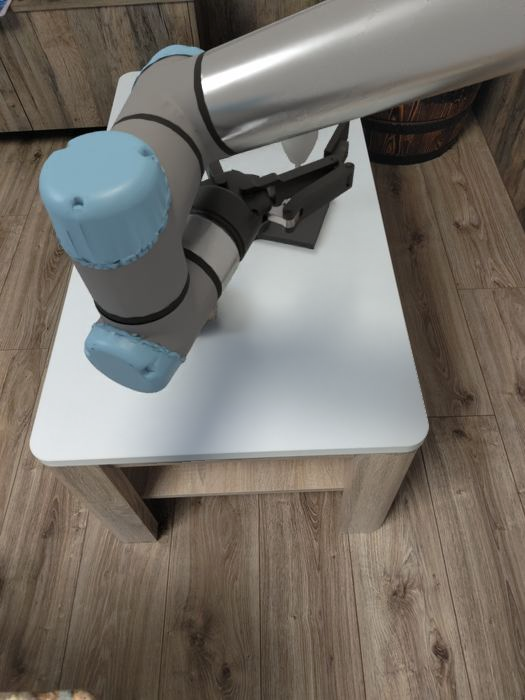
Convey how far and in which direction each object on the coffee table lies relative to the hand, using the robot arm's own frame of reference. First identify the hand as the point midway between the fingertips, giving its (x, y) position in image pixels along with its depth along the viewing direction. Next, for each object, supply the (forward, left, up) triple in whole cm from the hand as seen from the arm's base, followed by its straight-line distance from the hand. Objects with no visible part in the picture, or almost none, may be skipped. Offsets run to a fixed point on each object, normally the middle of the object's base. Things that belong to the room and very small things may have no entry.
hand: (289, 115), depth 57 cm
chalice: (+2, -13, -25) cm, 28 cm away
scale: (+4, -11, -26) cm, 28 cm away
